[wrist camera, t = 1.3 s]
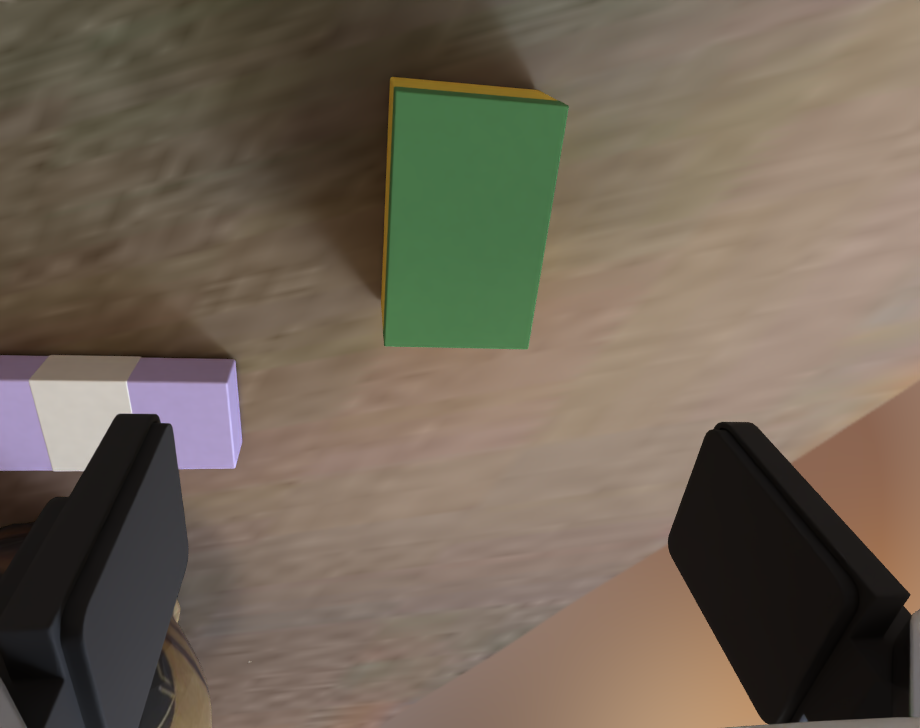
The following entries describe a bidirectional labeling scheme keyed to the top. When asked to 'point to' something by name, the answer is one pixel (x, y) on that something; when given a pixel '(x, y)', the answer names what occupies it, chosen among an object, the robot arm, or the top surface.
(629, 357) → the top surface
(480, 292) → the sponge
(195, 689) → the ceramic jug
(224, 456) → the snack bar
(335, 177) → the top surface
